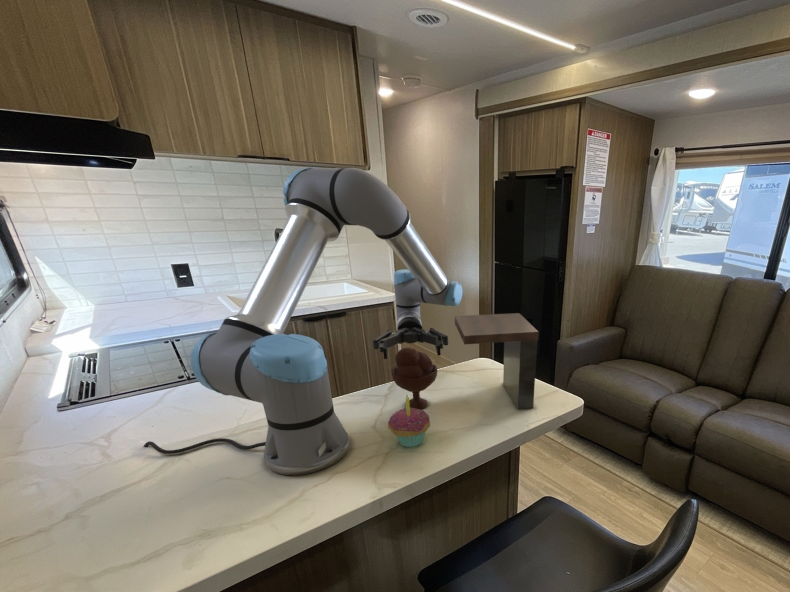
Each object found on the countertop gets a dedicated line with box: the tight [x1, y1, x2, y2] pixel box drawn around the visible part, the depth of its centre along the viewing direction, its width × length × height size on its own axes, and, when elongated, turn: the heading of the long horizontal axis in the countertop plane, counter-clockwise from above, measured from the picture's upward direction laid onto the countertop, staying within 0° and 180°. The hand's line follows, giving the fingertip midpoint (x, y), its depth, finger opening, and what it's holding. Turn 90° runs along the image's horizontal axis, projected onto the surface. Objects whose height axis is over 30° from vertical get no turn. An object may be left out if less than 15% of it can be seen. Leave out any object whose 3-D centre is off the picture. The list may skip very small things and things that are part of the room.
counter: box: [454, 312, 540, 411], centre depth 100 cm, size 17×16×20 cm
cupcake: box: [387, 394, 431, 448], centre depth 83 cm, size 9×8×12 cm
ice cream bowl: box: [390, 347, 439, 410], centre depth 97 cm, size 11×11×15 cm
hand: (412, 352), depth 103 cm, fingers open, 13 cm apart
